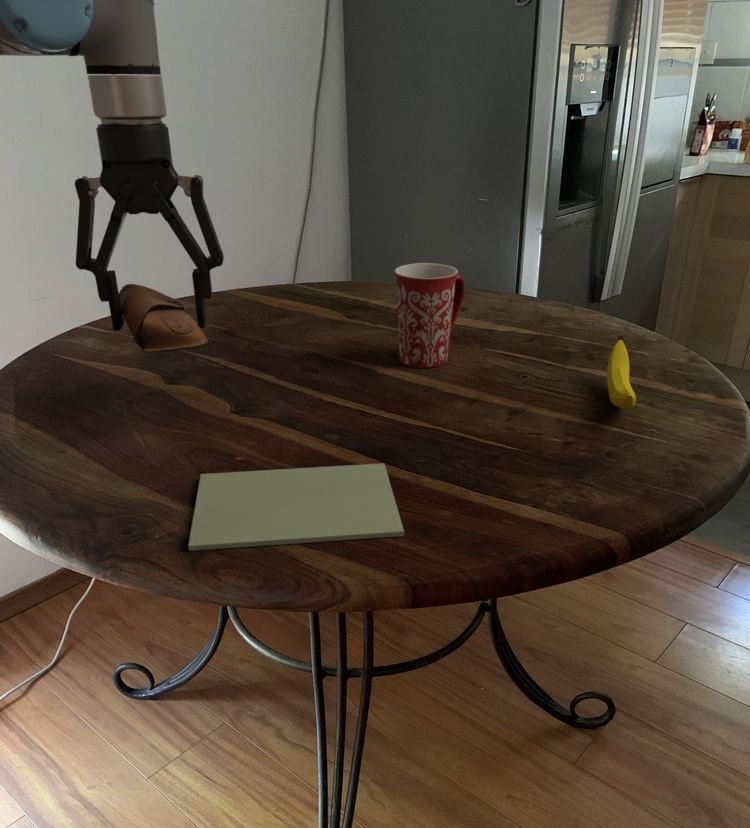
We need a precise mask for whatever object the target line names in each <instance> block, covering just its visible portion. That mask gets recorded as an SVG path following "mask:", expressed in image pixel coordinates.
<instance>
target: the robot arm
mask: <svg viewBox="0 0 750 828" xmlns="http://www.w3.org/2000/svg"><path fill="white" fill-rule="evenodd" d="M154 6H155V0H0V56H12V57H14V56H15V57H16V56H17V57H18V56H19V57H25V56H26V57H42V56H47V57H50V56H52V57H53V56H54V57H55V56H57V57H58V56H59V57H60V56H68V57H78V56H79V57H83V60H84V64H85V69H86V74H87V83H88V89H89V95H90V100H91V101H90V102H91V109H92V114H93V116H94V117H95V118H96V119H99V120H100V123H99V124H97V127H95V130H96V137H97V142H98V150H99V155H100V161H101V172H100V174H99V175H98V176H91V177H90V176H89V177H88V176H87V175H86V176H85V175H83V176H81V177H78V178H77V179H75V181H74V186H75V192H76V194H77V198H78V202H79V203H78V217H77V218H78V219H77V234H76V235H77V236H76V250H75V266H76V268H77V269H78V270H80V271H81V270H82V271H87V272H91V274H93V276H94V278H95V282H96V283H95V284H96V289H97V295H98V298H99V300H100V302H101V303H102V302H103V303H104V302H105V303H106V302H108V307H109V313H110V318H111V324H112V330H113V331H115V332H117V331H119V332H120V331H121V330H122V328H123V327H124V324H125V322H124V316H123V314H122V310H121V304H120V298H119V292H120V291H119V286H118V281H117V274H116V270H108V268H109V265H110V262H111V258H112V255H113V253H114V250H115V247H116V245H117V242H118V239H119V237H120V234H121V231H122V228H123V225H124V222H125V220H126V217H127V215H128V214H129V215H139V214H141V213H145V214H149V215H158V214H160V215H161V217H162V218H163V219H164V220H165V222H167V224H168V225H169V227H170V228H171V230H172V232H173V233H174V235H175V236H176V238H177V239H178V241H179V242H180V244H181V246H182V248H183V249H184V250H185V252H186V253H187V255H188V257H189V258H190V260H191V261H192V262H193V264H194V266H195V267H196V268H193V271H192V273H191V277H192V285H193V286H192V287H193V292H194V293H193V294H194V302H195V310H196V319H197V320H196V321H197V325H198V326H199V327H200V329H205V328H206V324H207V316H206V315H207V314H206V306H205V305H206V304H205V300H206V299H207V300H210V299H211V298H212V293H213V287H212V279H211V277H212V276H211V271H212V270H213V269H214V268H217V267H221V266H222V265H223V264H224V260H225V255H224V253H223V249H222V247H221V244H220V240H219V239H218V235H217V233H216V229H215V226H214V224H213V221H212V218H211V214H210V213H209V209H208V207H207V206H208V205H207V204H206V201H205V200H206V199H205V198H204V179H203V177H202V176H201V175H200V174H195V175H194V176H189V175H180V174H178V172H177V171H176V169H175V166H174V163H173V157H172V149H171V140H170V133H169V126H167V124H166V123H163V121H162V119H164V118H166V116H167V114H168V113H167V107H166V100H165V93H164V84H163V77H162V71H161V64H160V63H161V62H160V55H159V47H158V45H159V44H158V37H157V27H156V26H157V25H156V19H155V18H156V16H155V7H154ZM178 187H181V189H182V191H183V194H184V195H185V196H186V197H188V198H190V202H191V206H192V208H193V212H194V215H195V217H196V220H197V223H198V225H199V228H200V231H201V234H202V237H203V240H204V243H205V246H206V248H207V251H208V254H209V256H206V254H205V253H204V251H203V249H202V248H201V247H200V245H199V243H198V242H197V240H196V238H195V237H194V235H193V233H192V232H191V231H190V229H189V227H188V225H187V224H186V223H185V221H184V220H183V218H182V216H181V215H180V213H179V212H178V209H177V207H176V205H175V204H174V202H173V201H172V200H171V199H172V196H173V195H174V193H175V192H176V190H177V188H178ZM101 188H102V189H104V191H105V192H106V193H107V194H108V195H109V196H110V197H111V198H112V200H113V202H114V204H113V207H112V210H111V213H110V217H109V221H108V224H107V225H106V226H107V227H106V229H105V232H104V235H103V238H102V241H101V244H100V246H99V248H98V252H97V255H96V258H93V257H92V253H93V251H92V250H93V240H94V239H93V238H94V237H93V236H94V224H95V209H96V198H97V197H98V196H99V194H100V189H101Z"/></svg>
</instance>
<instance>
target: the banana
mask: <svg viewBox="0 0 750 828" xmlns="http://www.w3.org/2000/svg"><path fill="white" fill-rule="evenodd" d="M624 339H625V337H624V336H623V335H618V336H617V342H616V344H615V345H614V346H613V348H612V350H611V351H610V354H609V355H610V356H609V359H608V364H607V374H606V375H607V376H606V380H607V392H608V397H609V400H610V403H611V404H612V405H613V406H615V407H617V408H618V409H621V410H626V409H631V408H633V406H634V405H635V404H636V401H637V398H636V397H637V396H636V393H635V391H634V390H633V387H632V385H631V382H630V358H629V353H628V349H627V347H626V345H625V342H624V341H623V340H624Z"/></svg>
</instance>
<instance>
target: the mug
mask: <svg viewBox="0 0 750 828" xmlns="http://www.w3.org/2000/svg"><path fill="white" fill-rule="evenodd" d="M393 272H394V275H395V287H396V289H395V290H396V307H397V328H398V349H399V350H398V351H399V360H400V362H401V363H402V364H404V365H405V366H408V367H412V368H419V369H429V368H436V367H440V366H443V365H445V363H447V361H448V357H449V348H450V339H451V338H450V337H451V332H452V329H454V328H453V327H454V326H455V323H456V321H457V319H458V316H459V314H460V312H461V309H462V306H463V303H464V299H465V293H466V291H465V290H466V283H465V279H464V278H463V276H461V275H459V274H458V273H459V271H458V269H457V268H456V267H454V266H451V265H447V264H443V263H434V262H433V263H432V262H419V263H418V262H417V263H409V264H404V265H401V266H398V267H396V268H395V269H394V271H393Z"/></svg>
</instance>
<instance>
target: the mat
mask: <svg viewBox="0 0 750 828" xmlns="http://www.w3.org/2000/svg"><path fill="white" fill-rule="evenodd" d="M198 481H199V482H198V488H197V493H196V498H195V505H194V511H193V516H192V521H191V528H190V533H189V538H188V540H189V541H188V545H187V548H188V551H189V552H193V551H194V552H195V551H206V550H222V549H224V550H225V549H237V548H251V547H253V548H254V547H266V546H282V545H295V544H307V543H308V544H310V543H323V542H324V543H325V542H337V541H338V542H339V541H352V540H353V541H354V540H366V539H367V540H368V539H381V538H395V537H404V536H405V530H404V527H403V526H404V525H403V523H402V520H401V519H402V518H401V516H400V513H399V509H398V505H397V503H396V498H395V495H394V491H393V489H392V485H391V482H390V477H389V475H388V471H387V467H386V464H385V462H384V463H383V462H382V463H381V462H380V463H367V464H366V463H365V464H352V465H351V464H349V465H334V466H333V465H332V466H331V465H329V466H315V467H296V468H281V469H266V470H265V469H264V470H247V471H246V470H245V471H230V472H213V473H211V472H210V473H201V474H200V476H199V480H198Z"/></svg>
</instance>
